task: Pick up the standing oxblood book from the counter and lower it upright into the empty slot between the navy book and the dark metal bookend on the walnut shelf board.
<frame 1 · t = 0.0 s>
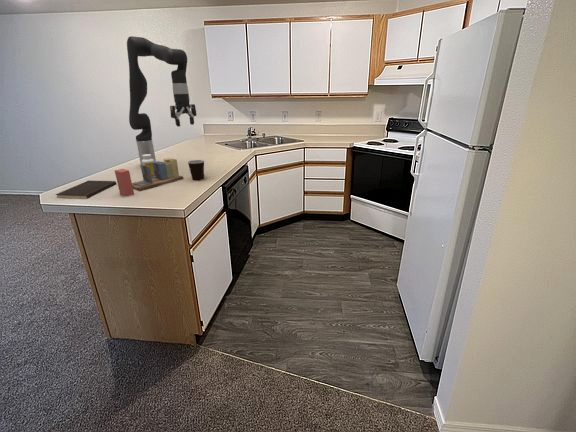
hand: (185, 125, 164), 29 cm above the table, tool pointing down, fingers open, 8 cm apart
coffee mug: (199, 178, 176), on the table
shelf: (154, 183, 168), on the table
hardcover book: (88, 192, 158), on the table
book: (127, 194, 152), on the table
supplement bottle: (151, 177, 180), on the table
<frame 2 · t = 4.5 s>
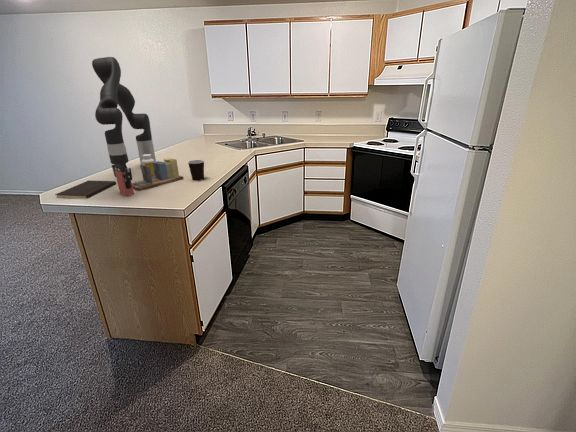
hand: (125, 187, 150), 4 cm above the table, tool pointing down, fingers closed on book, 6 cm apart
book: (127, 194, 152), on the table, touching gripper
everything else where it was.
when the fingers open (7 cm above the table, at t = 11.2 s): book drops 1 cm, resting on shelf.
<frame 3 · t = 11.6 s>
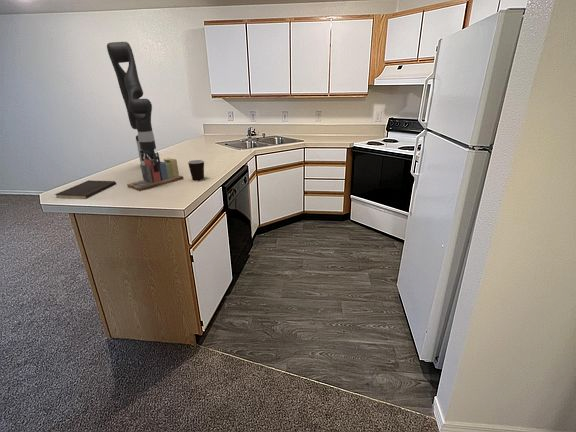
hand: (152, 170, 165), 7 cm above the table, tool pointing down, fingers open, 8 cm apart
book: (154, 180, 167), point 1 cm above the table, touching shelf
everything else where it was.
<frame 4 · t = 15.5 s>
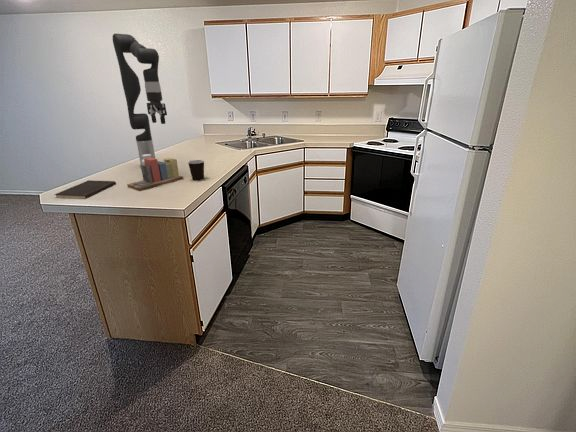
hand: (158, 123, 168), 30 cm above the table, tool pointing down, fingers open, 8 cm apart
nothing on the table moved.
at the end: book 0.1 cm off-centre on the shelf, point 1.5 cm above the shelf's base; book tilted 0°; the gripper is holding nothing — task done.
